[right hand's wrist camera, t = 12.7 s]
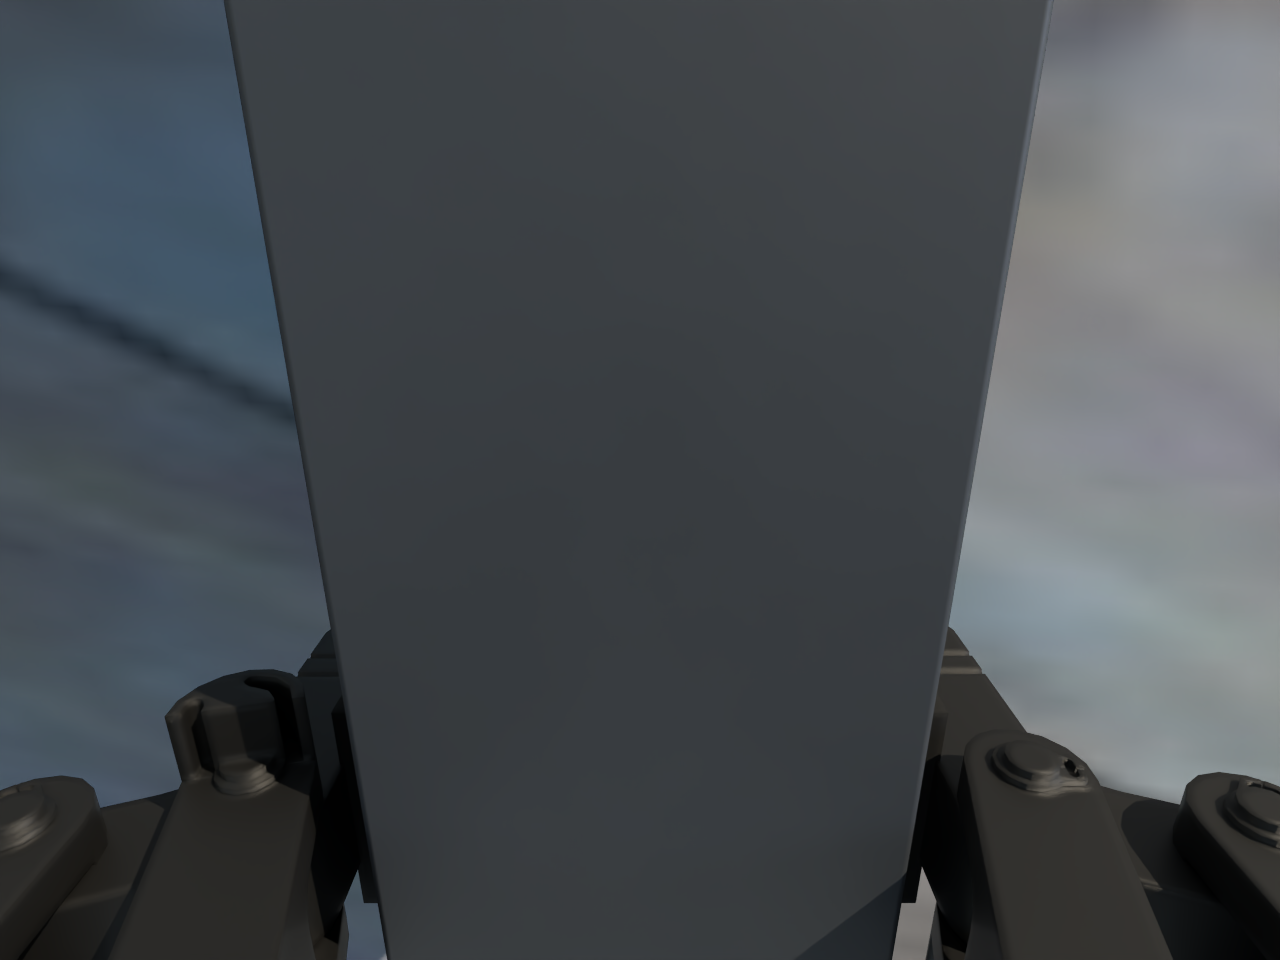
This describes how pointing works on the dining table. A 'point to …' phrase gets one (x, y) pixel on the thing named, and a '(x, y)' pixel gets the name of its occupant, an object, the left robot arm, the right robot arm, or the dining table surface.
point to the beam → (639, 440)
